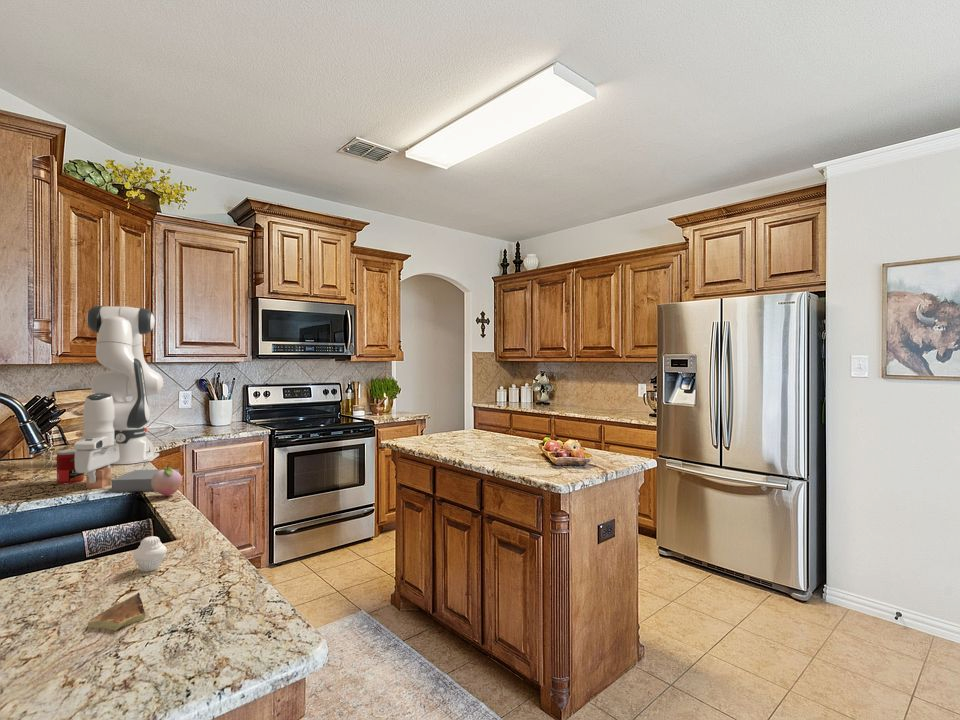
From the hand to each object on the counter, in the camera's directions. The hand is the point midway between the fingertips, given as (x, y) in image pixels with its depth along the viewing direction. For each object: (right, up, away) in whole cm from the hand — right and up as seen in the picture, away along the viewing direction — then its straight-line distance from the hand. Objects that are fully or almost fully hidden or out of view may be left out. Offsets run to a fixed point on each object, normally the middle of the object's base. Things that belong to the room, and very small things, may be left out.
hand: (98, 480), depth 178 cm
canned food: (-15, -2, +7) cm, 17 cm away
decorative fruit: (+31, -3, -12) cm, 34 cm away
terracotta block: (0, -2, 0) cm, 2 cm away
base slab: (+16, -2, +1) cm, 16 cm away
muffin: (+62, -3, -68) cm, 92 cm away
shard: (+69, -4, -89) cm, 112 cm away
